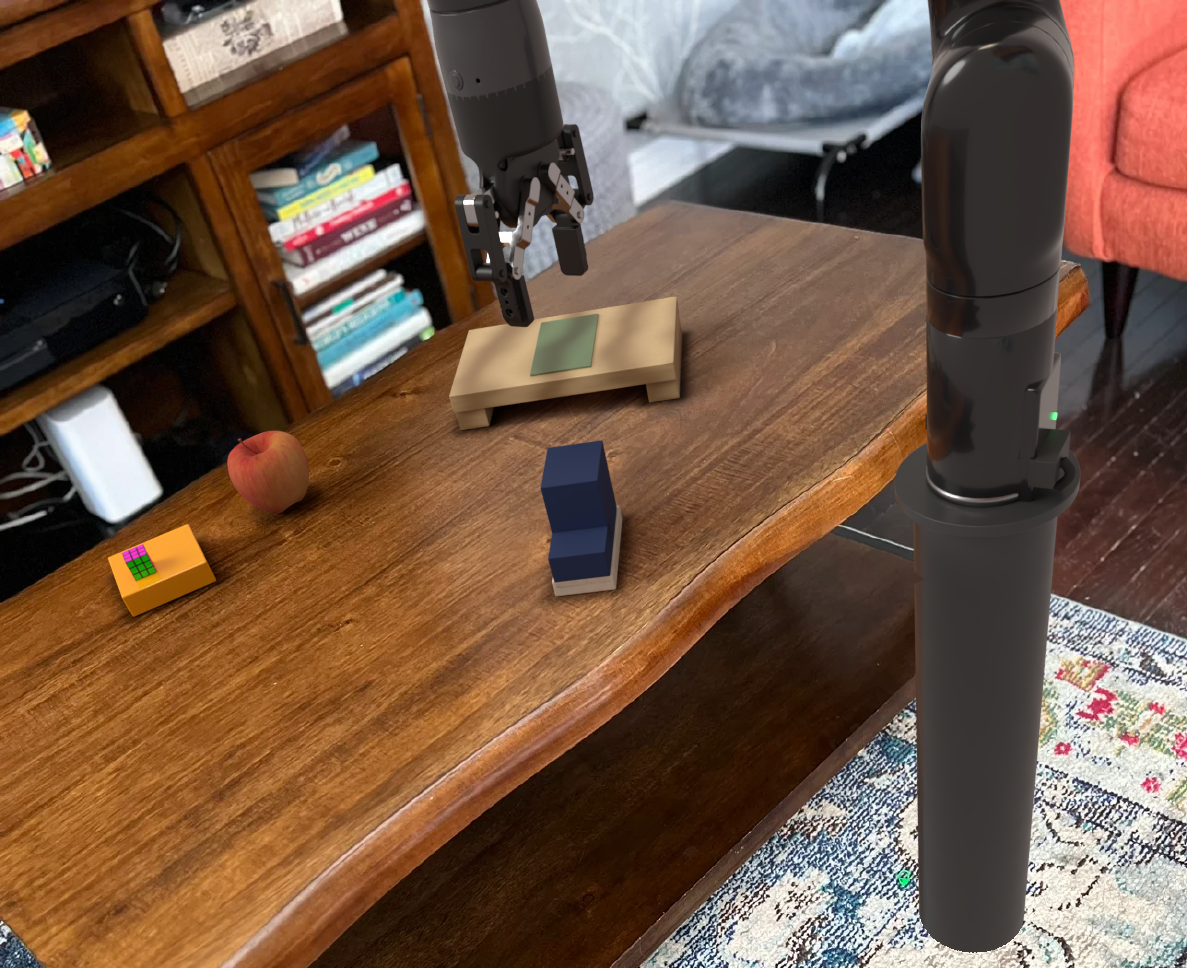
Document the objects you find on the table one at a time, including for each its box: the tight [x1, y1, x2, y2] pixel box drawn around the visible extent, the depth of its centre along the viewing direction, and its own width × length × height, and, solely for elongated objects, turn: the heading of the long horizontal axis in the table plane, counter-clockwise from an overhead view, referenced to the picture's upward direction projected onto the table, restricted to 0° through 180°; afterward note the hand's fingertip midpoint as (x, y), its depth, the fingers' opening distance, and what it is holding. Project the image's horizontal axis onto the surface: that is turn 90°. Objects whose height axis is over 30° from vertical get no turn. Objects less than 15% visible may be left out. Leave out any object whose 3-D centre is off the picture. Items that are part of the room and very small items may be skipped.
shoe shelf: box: [448, 296, 683, 431], centre depth 123 cm, size 22×14×4 cm, turn 86°
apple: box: [226, 430, 310, 515], centre depth 116 cm, size 7×7×8 cm
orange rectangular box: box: [107, 523, 217, 618], centre depth 112 cm, size 8×8×4 cm
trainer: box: [540, 439, 623, 597], centre depth 100 cm, size 10×5×8 cm, turn 176°
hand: (549, 298), depth 96 cm, fingers open, 8 cm apart
